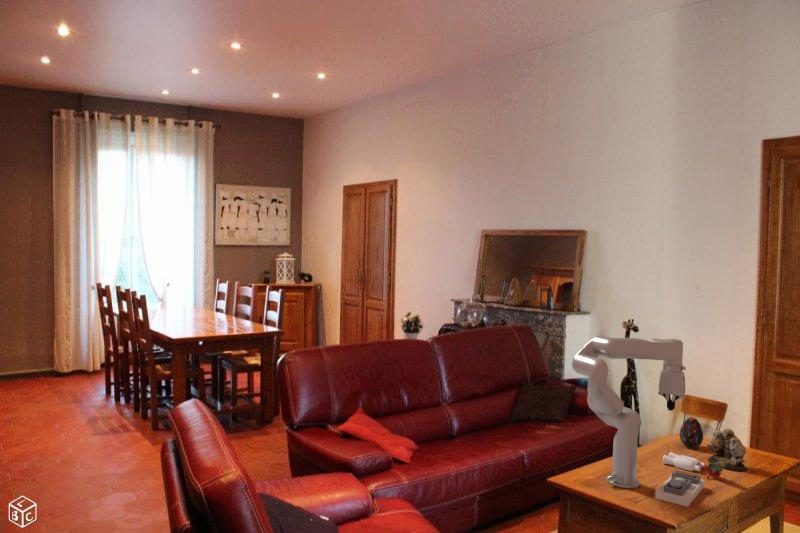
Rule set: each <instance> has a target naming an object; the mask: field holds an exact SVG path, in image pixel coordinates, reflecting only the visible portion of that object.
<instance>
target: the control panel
mask: <svg viewBox="0 0 800 533" xmlns="http://www.w3.org/2000/svg"><path fill="white" fill-rule="evenodd" d="M677 471H679V470H677V469H675V470H673V472H671V475H670V476H669V477H668V478H667V479H666V480H665V481H664V482H663V483H662V484H661V485H660V486H659V487H658V488H656V490H655V499H656V500H661V501H664V502H669V503H672V504H676V505H680V506H683V507H687V508H688V507H689V506H690V505H691V503H692V502H693V501H694V500H695V499H696V497H697V496H698V495H699V494H700V493H701V491H702V490H703V488H704V487H705V480H704V479H702V478H701V475H699V474H695V475H696V478H691V477H687V476H683V475H678V474H676V472H677ZM677 477H680V478H684V479H686V484H685V483H681V488H673V487H671V486H670V480H671V479H675V478H677Z"/></svg>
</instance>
